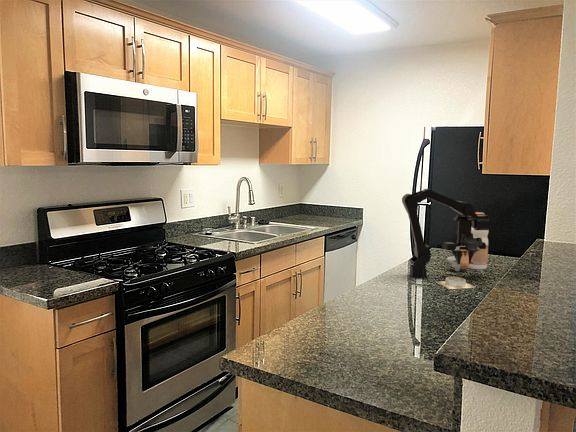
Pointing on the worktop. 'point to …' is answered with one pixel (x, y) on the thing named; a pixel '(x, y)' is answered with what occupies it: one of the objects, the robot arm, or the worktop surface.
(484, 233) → the fruit juice
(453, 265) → the showerhead
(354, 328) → the worktop surface
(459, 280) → the collar
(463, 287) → the board
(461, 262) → the copper brown cylinder
